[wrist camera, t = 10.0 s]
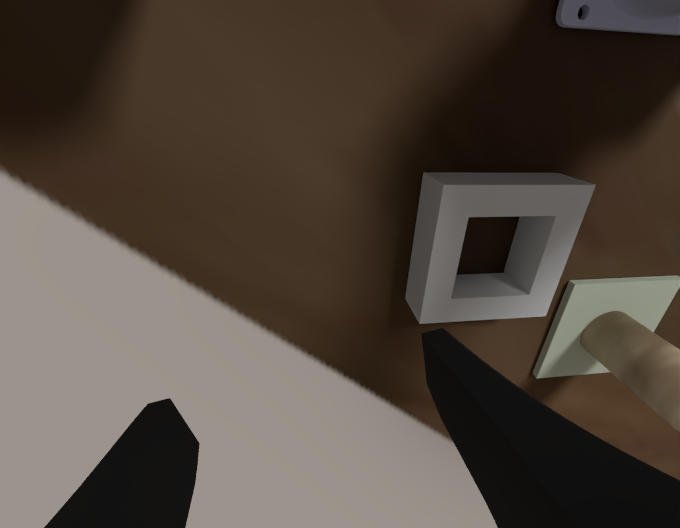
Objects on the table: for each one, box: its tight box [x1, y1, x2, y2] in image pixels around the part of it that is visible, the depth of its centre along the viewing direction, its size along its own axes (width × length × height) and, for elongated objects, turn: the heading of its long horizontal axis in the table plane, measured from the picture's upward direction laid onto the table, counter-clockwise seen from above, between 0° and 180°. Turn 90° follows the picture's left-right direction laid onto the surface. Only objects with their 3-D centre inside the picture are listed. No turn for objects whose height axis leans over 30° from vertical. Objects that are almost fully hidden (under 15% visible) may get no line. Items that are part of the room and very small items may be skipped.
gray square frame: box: [405, 172, 596, 324], centre depth 18 cm, size 8×8×2 cm
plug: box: [580, 311, 680, 432], centre depth 21 cm, size 4×4×6 cm
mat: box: [532, 276, 680, 378], centre depth 24 cm, size 8×8×1 cm
